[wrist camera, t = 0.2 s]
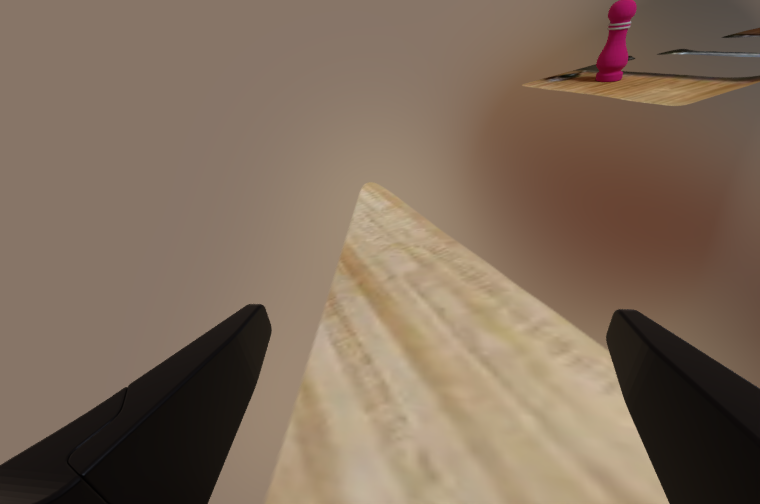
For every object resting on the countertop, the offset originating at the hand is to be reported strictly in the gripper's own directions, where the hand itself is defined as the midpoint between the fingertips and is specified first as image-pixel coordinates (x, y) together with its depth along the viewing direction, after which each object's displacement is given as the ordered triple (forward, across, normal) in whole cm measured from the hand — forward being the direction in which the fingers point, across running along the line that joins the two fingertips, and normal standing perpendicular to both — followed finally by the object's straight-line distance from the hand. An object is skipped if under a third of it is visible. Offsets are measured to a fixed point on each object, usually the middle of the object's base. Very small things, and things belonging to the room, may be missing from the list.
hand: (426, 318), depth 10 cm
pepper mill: (+110, -48, +12) cm, 121 cm away
